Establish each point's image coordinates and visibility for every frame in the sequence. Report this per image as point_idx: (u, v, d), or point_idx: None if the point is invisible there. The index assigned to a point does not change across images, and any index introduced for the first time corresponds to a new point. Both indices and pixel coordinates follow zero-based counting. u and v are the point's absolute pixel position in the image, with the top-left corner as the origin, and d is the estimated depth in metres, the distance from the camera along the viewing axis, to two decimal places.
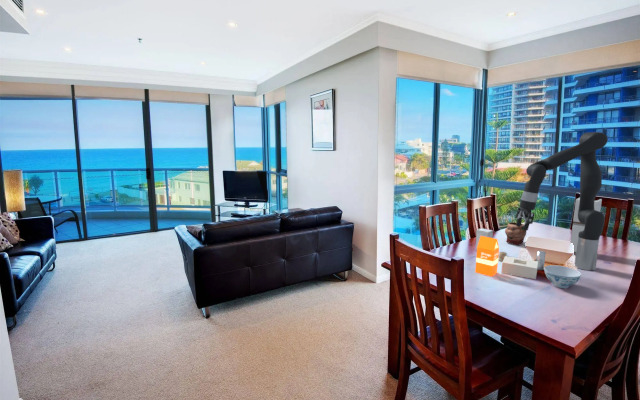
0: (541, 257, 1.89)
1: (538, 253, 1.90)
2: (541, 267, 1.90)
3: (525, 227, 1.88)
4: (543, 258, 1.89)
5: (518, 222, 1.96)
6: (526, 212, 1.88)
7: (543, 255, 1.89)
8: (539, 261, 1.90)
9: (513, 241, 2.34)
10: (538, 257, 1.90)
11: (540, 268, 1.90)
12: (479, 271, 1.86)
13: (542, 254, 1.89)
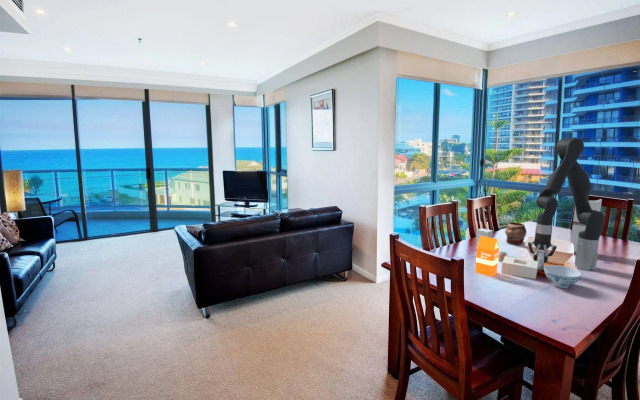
0: (541, 257, 1.89)
1: (538, 253, 1.90)
2: (541, 267, 1.90)
3: (547, 260, 1.89)
4: (543, 258, 1.89)
5: (536, 257, 1.92)
6: (548, 246, 1.87)
7: (543, 255, 1.89)
8: (539, 261, 1.90)
9: (513, 241, 2.34)
10: (538, 257, 1.90)
11: (540, 268, 1.90)
12: (479, 271, 1.86)
13: (542, 254, 1.89)
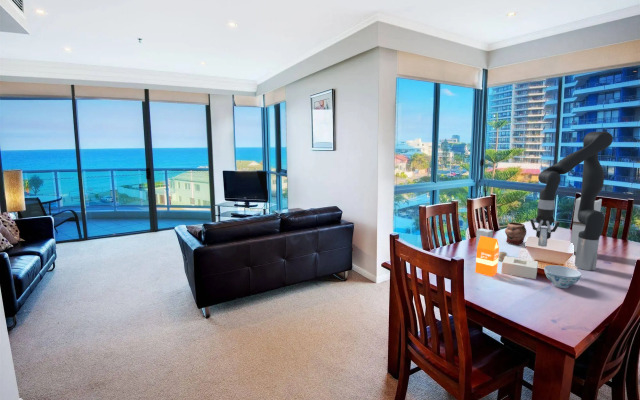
0: (544, 233, 1.87)
1: (541, 229, 1.87)
2: (544, 243, 1.87)
3: (550, 236, 1.86)
4: (546, 234, 1.87)
5: None
6: (551, 221, 1.85)
7: (546, 231, 1.86)
8: (542, 237, 1.87)
9: (513, 241, 2.34)
10: (541, 233, 1.88)
11: (543, 244, 1.88)
12: (479, 271, 1.86)
13: (545, 230, 1.86)
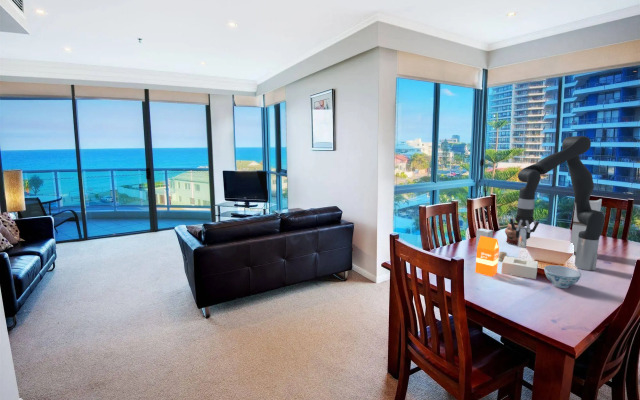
0: (523, 233, 1.82)
1: (520, 229, 1.83)
2: (523, 243, 1.82)
3: (529, 236, 1.81)
4: (525, 234, 1.82)
5: (518, 233, 1.84)
6: (530, 221, 1.80)
7: (525, 231, 1.81)
8: (521, 237, 1.82)
9: (513, 241, 2.34)
10: (520, 233, 1.83)
11: (522, 245, 1.83)
12: (479, 271, 1.86)
13: (524, 230, 1.81)
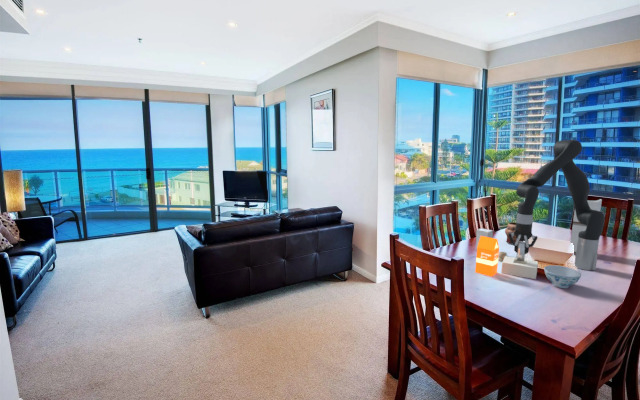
0: (522, 247, 1.83)
1: (519, 244, 1.84)
2: (522, 258, 1.84)
3: (527, 251, 1.83)
4: (524, 249, 1.83)
5: None
6: (529, 236, 1.81)
7: (524, 246, 1.83)
8: (520, 252, 1.84)
9: None
10: (519, 248, 1.84)
11: (521, 259, 1.84)
12: (479, 271, 1.86)
13: (523, 245, 1.83)
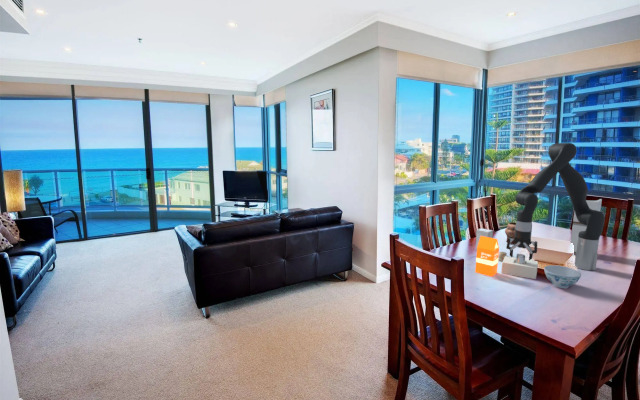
0: (520, 260, 1.84)
1: (518, 256, 1.85)
2: None
3: (531, 257, 1.82)
4: (523, 261, 1.84)
5: (512, 253, 1.87)
6: (528, 242, 1.82)
7: (523, 258, 1.84)
8: None
9: (513, 241, 2.34)
10: (518, 260, 1.85)
11: None
12: (479, 271, 1.86)
13: (522, 257, 1.84)
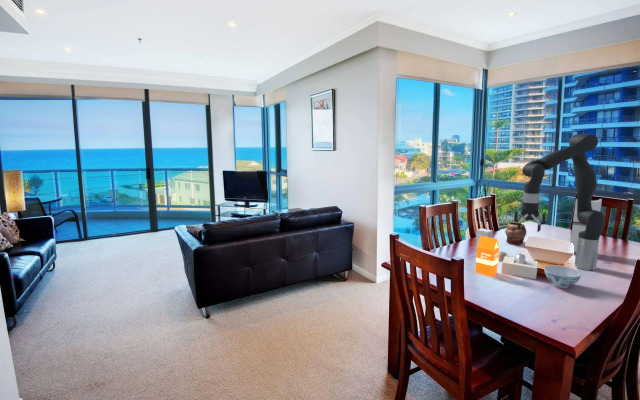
0: (521, 260, 1.84)
1: (518, 256, 1.85)
2: None
3: (539, 229, 1.81)
4: (523, 261, 1.84)
5: (520, 226, 1.86)
6: (536, 214, 1.81)
7: (523, 258, 1.84)
8: None
9: (513, 241, 2.34)
10: (518, 260, 1.85)
11: None
12: (479, 271, 1.86)
13: (522, 257, 1.84)
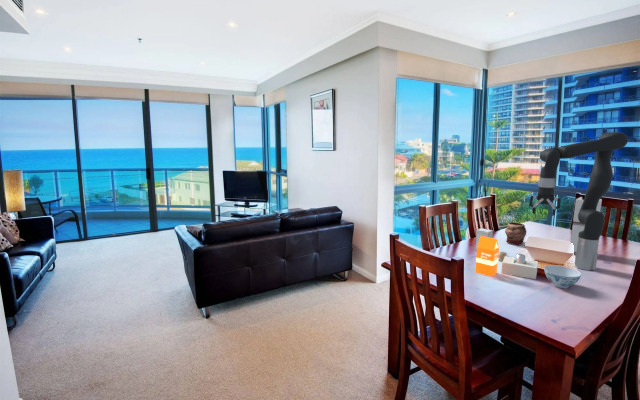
0: (521, 260, 1.84)
1: (518, 256, 1.85)
2: None
3: (554, 213, 1.87)
4: (523, 261, 1.84)
5: (535, 210, 1.92)
6: (551, 198, 1.86)
7: (523, 258, 1.84)
8: None
9: (513, 241, 2.34)
10: (518, 260, 1.85)
11: None
12: (479, 271, 1.86)
13: (522, 257, 1.84)
